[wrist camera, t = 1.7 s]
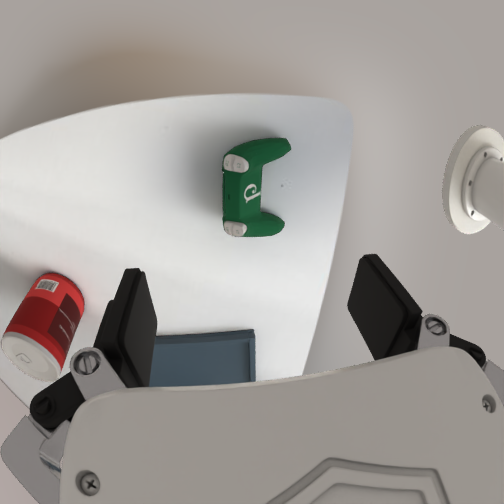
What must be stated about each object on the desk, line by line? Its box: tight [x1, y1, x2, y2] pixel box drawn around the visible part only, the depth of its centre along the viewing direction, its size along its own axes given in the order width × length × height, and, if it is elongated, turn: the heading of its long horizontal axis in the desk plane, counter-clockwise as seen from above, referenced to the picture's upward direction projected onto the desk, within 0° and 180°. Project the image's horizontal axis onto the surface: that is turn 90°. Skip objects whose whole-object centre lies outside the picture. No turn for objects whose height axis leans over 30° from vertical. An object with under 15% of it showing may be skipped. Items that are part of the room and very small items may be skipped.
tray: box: [149, 329, 256, 387], centre depth 38 cm, size 20×17×2 cm
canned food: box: [1, 273, 84, 382], centre depth 24 cm, size 8×8×11 cm
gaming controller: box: [222, 138, 291, 237], centre depth 24 cm, size 9×4×6 cm
